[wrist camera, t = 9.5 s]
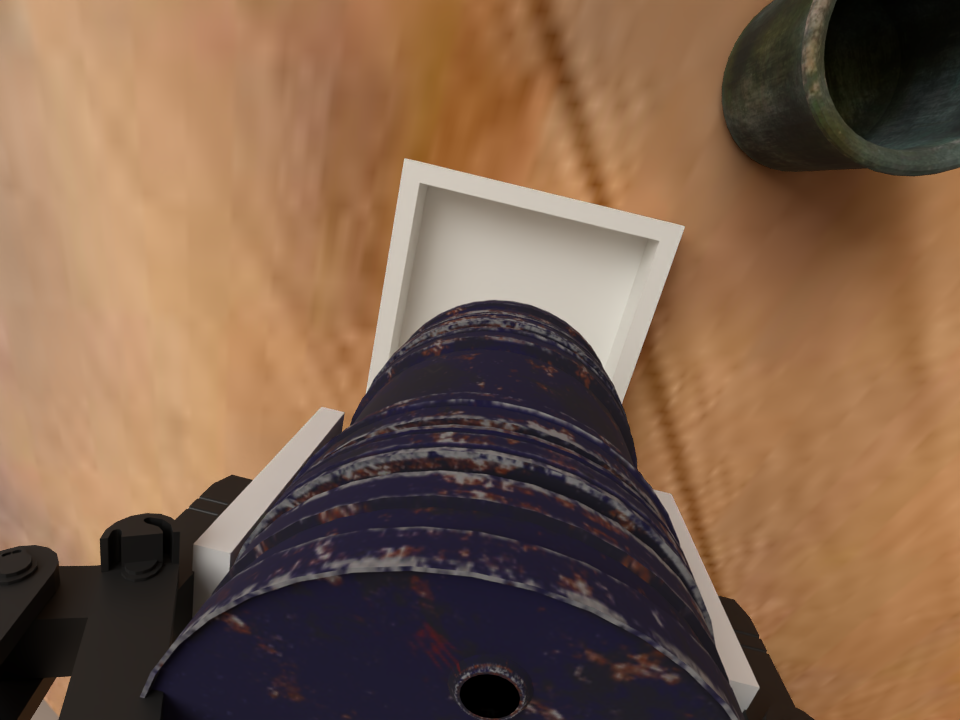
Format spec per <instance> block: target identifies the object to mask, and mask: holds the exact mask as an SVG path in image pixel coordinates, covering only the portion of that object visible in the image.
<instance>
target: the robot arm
mask: <svg viewBox="0 0 960 720" xmlns="http://www.w3.org/2000/svg"><path fill="white" fill-rule="evenodd" d="M344 413H345V412H341V411H337V410H333V409H329V408H325V407H321V408H320V409H319V410H318V411H317V412H316V413H315V414H314V415H313V416H312V417H311V419H310V420H309V421H308V422H307V423H306V424H305V425H304V426H303V427H302V428H301V429H300V430H299V431H298V432H297V434H296V435H295V436H294V437H293V438H292V439H291V440H290V441H289V442H288V443H287V444H286V445H285V446H284V447H283V449H282V450H281V451H280V452H279V453H278V454H277V455H276V456H275V457H274V458H273V459H272V460H271V461H270V462H269V464H268V465H267V466H266V467H265V468H264V469H263V470H262V471H261V472H260V473H259V474H258V475H257V476H256V477H255V479H254V480H251V479H247V478H243V477H239V476H235V475H231V476H228V477H226V478H224V479H222V480H220V481H218V482H216V483H214V484H212V485H211V486H210V487H209V488H208V489H207V490H206V491H205V492H204V493H203V494H202V495H201V496H200V498H199V499H197V500H195V501H194V502H193V503H192V504H191V505H190V506H189V509H186V510H185V511H184V512H183V513H182V514H181V515H180V516H179V517H178V518H176V519H175V520H174V519H172V518H171V517H168V516H165V515H162V514H150V513H145V514H140V515H134V516H130V517H127V518H125V519H122V520H120V521H117V522H116V523H114V524H113V525H112V526H110V527H109V528H107V529H106V530H105V532H104V533H103V535H102V536H101V538H100V555H101V565H98V566H59V561H58V557H57V553H55V552H54V551H52V550H51V549H49V548H47V547H42V546H37V545H31V546H18V547H14V548H10V549H6V550H3V551H0V720H30V719H31V718H32V716H33V715H34V713H35V711H36V710H37V708H38V707H39V705H40V703H41V702H42V700H43V698H44V697H45V695H46V694H47V692H48V690H49V689H50V687H51V685H52V684H53V682H54V681H55V679H56V677H65V676H71V678H70V682H69V685H68V689H67V692H66V696H65V699H64V703H63V706H62V710H61V713H60V717H59V720H163V692H162V691H158V690H154V689H151V690H150V692H149V693H148V694H147V696H146V697H145V698H142V697H140V695H141V693H142V690H143V688H144V686H145V684H146V682H147V679H148V677H149V675H150V673H151V671H152V670H153V668H154V667H155V666H156V665H157V663H158V662H159V661H160V659H161V658H162V657H163V656H164V654H165V653H166V652H167V650H168V649H169V648H170V647H171V645H172V644H173V643H174V641H175V640H176V639H177V638H178V636H179V635H180V634H181V632H182V631H183V630H184V628H185V627H186V626H187V625H188V623H189V622H190V621H191V620H192V618H193V617H194V616H195V614H196V613H197V612H198V611H199V609H200V608H201V607H202V605H203V604H204V603H205V602H206V600H207V599H208V598H210V597H211V595H212V592H213V591H214V590H215V588H216V587H217V586H218V585H219V583H220V582H221V581H222V579H223V578H224V577H225V576H226V574H227V573H228V572H229V570H230V569H231V568H232V567H233V565H234V562H235V560H236V558H237V556H238V554H239V552H240V550H241V548H242V546H243V544H244V543H245V541H246V540H247V539H248V537H249V536H250V535H251V534H252V532H253V531H254V530H255V528H256V527H257V526H258V524H259V523H260V522H261V521H262V519H263V518H264V517H265V515H266V514H267V513H268V512H269V510H270V509H271V508H272V507H273V505H274V504H275V503H276V502H277V500H278V499H279V498H280V497H281V495H282V494H283V493H284V492H285V490H286V489H287V488H288V487H289V486H290V485H291V483H292V481H293V480H294V479H295V477H296V476H297V475H298V473H299V472H300V471H301V469H302V468H303V467H304V466H305V464H306V463H307V462H308V460H309V459H310V458H311V457H312V456H313V455H314V454H316V453H317V452H318V451H319V450H320V449H321V448H322V447H323V446H325V445H326V444H327V443H328V442H329V441H330V440H331V439H332V438H334V437H336V436H337V435H339V434H340V433H341V432H342V426H343V420H344ZM653 490H654V489H653ZM654 492H655V493H656V495H657V497H658V498H659V500H660V501H661V503H662V505H663V506H664V508H665V509H666V511H667V512H668V514H669V517H670V519H671V522H672V524H673V527H674V529H675V532H676V534H677V537H678V539H679V542H680V547H681V548H682V550H683V552H684V555H685V557H686V560H687V562H688V564H689V567H690V569H691V572H692V574H693V576H694V579H695V581H696V584H697V586H698V588H699V591H700V593H701V596H702V598H703V601H704V603H705V606H706V608H707V611H708V613H709V616H710V618H711V622H712V627H713V633H714V639H715V644H716V649H717V651H718V654H719V656H720V659H721V661H722V664H723V666H724V669H725V671H726V674H727V676H728V679H729V684H730V686H731V687H732V689H733V692H734V694H735V696H736V699H737V701H738V704H739V706H740V709H741V711H742V714H743V716H744V718H745V720H814V719H813V718H812V717H810V716H809V715H808V714H806V713H805V712H804V711H802V710H800V709H798V708H796V707H795V705H794V703H793V701H792V699H791V697H790V695H789V694H788V692H787V690H786V688H785V686H784V684H783V682H782V680H781V678H780V676H779V674H778V672H777V670H776V668H775V666H774V664H773V662H772V660H771V658H770V656H769V654H767V653H766V651H767V650H766V648H765V646H764V644H763V642H762V640H761V639H759V634H758V632H757V630H756V628H755V626H754V624H753V622H752V621H751V619H750V617H749V616H748V615H747V614H746V612H745V611H744V610H743V609H742V608H741V607H740V606H739V605H738V603H737V602H736V601H735V600H733V599H729V598H725V597H721V596H718V595H717V593H716V591H715V589H714V586H713V584H712V582H711V580H710V578H709V575H708V573H707V571H706V569H705V567H704V564H703V562H702V560H701V558H700V556H699V553H698V551H697V549H696V547H695V545H694V542H693V540H692V538H691V536H690V534H689V531H688V529H687V527H686V525H685V523H684V520H683V518H682V516H681V514H680V512H679V509H678V507H677V505H676V503H675V501H674V498H673V496H672V494H670V493H666V492H662V491H658V490H654Z"/></svg>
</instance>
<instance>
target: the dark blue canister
mask: <svg viewBox="0 0 960 720" xmlns="http://www.w3.org/2000/svg"><path fill="white" fill-rule="evenodd" d="M151 689H154V690H158V691H162V692H163V720H745V718H744V716H743V714H742V711H741V709H740V706H739V704H738V701H737V699H736V696H735V694H734V692H733V689H732V687H731V686H730V684H729V679H728V676H727V674H726V671H725V669H724V666H723V664H722V661H721V659H720V656H719V654H718V651H717V649H716V644H715V639H714V633H713V627H712V622H711V618H710V616H709V613H708V611H707V608H706V606H705V603H704V601H703V598H702V596H701V593H700V591H699V588H698V586H697V584H696V581H695V579H694V576H693V574H692V572H691V569H690V567H689V564H688V562H687V560H686V557H685V555H684V552H683V550H682V548H681V547H680V542H679V539H678V537H677V534H676V532H675V529H674V527H673V524H672V522H671V519H670V517H669V514H668V512H667V511H666V509H665V508H664V506H663V505H662V503H661V501H660V500H659V498H658V497H657V495H656V493H655V492H654V490H653V489H652V487H651V486H650V485H649V484H648V483H647V482H646V480H645V479H644V478H643V476H642V474H641V473H640V472H639V471H638V470H637V457H636V452H635V447H634V442H633V438H632V435H631V432H630V427H629V424H628V422H627V417H626V413H625V411H624V409H623V406H622V404H621V401H620V399H619V396H618V394H617V391H616V389H615V387H614V384H613V383H612V381H611V379H610V378H609V376H608V375H607V373H606V371H605V370H604V368H603V366H602V363H601V361H600V359H599V358H598V356H597V355H596V353H595V351H594V350H593V348H592V347H591V345H590V344H589V343H588V342H587V341H586V340H585V339H584V338H583V336H582V335H581V334H580V333H579V332H578V331H576V330H575V329H574V328H573V327H572V326H570V325H569V324H568V323H567V322H565V321H564V320H562V319H560V318H559V317H557V316H555V315H553V314H552V313H550V312H548V311H545V310H543V309H540V308H538V307H535V306H532V305H529V304H524V303H520V302H515V301H505V300H486V301H476V302H471V303H467V304H463V305H460V306H456V307H454V308H451V309H449V310H447V311H445V312H442V313H440V314H438V315H437V316H435V317H434V318H432V319H431V320H429V321H428V322H426V323H425V324H423V325H422V326H421V327H420V328H419V329H418V330H417V331H416V332H415V333H414V334H413V335H412V336H411V337H410V338H409V339H408V341H407V342H406V343H405V344H404V345H402V346H401V347H400V348H399V349H398V350H397V351H396V352H395V353H394V354H393V355H392V356H391V358H390V359H389V360H388V361H387V363H386V364H385V365H384V366H383V368H382V369H381V370H380V372H379V373H378V374H377V376H376V377H375V378H374V380H373V382H372V384H371V386H370V388H369V389H368V391H367V393H366V394H365V396H364V397H363V398H362V400H361V402H360V404H359V406H358V408H357V410H356V412H355V414H354V416H353V418H352V421H351V424H350V427H348V428H346V429H345V430H344V431H343V432H341V433H340V434H339V435H337V436H336V437H334V438H332V439H331V440H330V441H329V442H328V443H327V444H326V445H325V446H323V447H322V448H321V449H320V450H319V451H318V452H317V453H316V454H314V455H313V456H312V457H311V458H310V459H309V460H308V462H307V463H306V464H305V466H304V467H303V468H302V469H301V471H300V472H299V473H298V475H297V476H296V477H295V479H294V480H293V481H292V483H291V485H290V486H289V487H288V488H287V489H286V490H285V492H284V493H283V494H282V495H281V497H280V498H279V499H278V500H277V502H276V503H275V504H274V505H273V507H272V508H271V509H270V510H269V512H268V513H267V514H266V515H265V517H264V518H263V519H262V521H261V522H260V523H259V524H258V526H257V527H256V528H255V530H254V531H253V532H252V534H251V535H250V536H249V537H248V539H247V540H246V541H245V543H244V544H243V546H242V548H241V550H240V552H239V554H238V556H237V558H236V560H235V562H234V565H233V567H232V568H231V569H230V570H229V572H228V573H227V574H226V576H225V577H224V578H223V579H222V581H221V582H220V583H219V585H218V586H217V587H216V588H215V590H214V591H213V592H212V595H211V597H210V598H208V599H207V600H206V602H205V603H204V604H203V605H202V607H201V608H200V609H199V611H198V612H197V613H196V614H195V616H194V617H193V618H192V620H191V621H190V622H189V623H188V625H187V626H186V627H185V628H184V630H183V631H182V632H181V634H180V635H179V636H178V638H177V639H176V640H175V641H174V643H173V644H172V645H171V647H170V648H169V649H168V650H167V652H166V653H165V654H164V656H163V657H162V658H161V659H160V661H159V662H158V663H157V665H156V666H155V667H154V668H153V670H152V671H151V673H150V675H149V677H148V679H147V682H146V684H145V686H144V688H143V690H142V693H141V695H140V697H142V698H145V697H146V696H147V694H148V693H149V692H150V690H151Z"/></svg>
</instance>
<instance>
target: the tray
mask: <svg viewBox="0 0 960 720" xmlns="http://www.w3.org/2000/svg"><path fill="white" fill-rule="evenodd" d="M684 228H685V226H682V225H678V224H674V223H671V222H667V221H663V220H659V219H654V218H650V217H646V216H642V215H638V214H634V213H630V212H626V211H621V210H617V209H613V208H609V207H605V206H601V205H597V204H593V203H588V202H584V201H580V200H576V199H572V198H568V197H564V196H560V195H555V194H551V193H547V192H543V191H539V190H535V189H531V188H527V187H522V186H518V185H514V184H510V183H506V182H502V181H498V180H494V179H489V178H485V177H481V176H477V175H473V174H469V173H465V172H461V171H456V170H452V169H448V168H444V167H440V166H436V165H432V164H428V163H423V162H419V161H415V160H410V159H405V158H404V164H403V170H402V177H401V183H400V189H399V195H398V201H397V207H396V213H395V219H394V225H393V231H392V238H391V244H390V250H389V256H388V262H387V268H386V274H385V280H384V286H383V292H382V298H381V305H380V311H379V317H378V323H377V329H376V335H375V341H374V347H373V353H372V359H371V366H370V372H369V378H368V384H367V390H366V393H367V391H368V389H369V388H370V386H371V384H372V382H373V380H374V378H375V377H376V376H377V374H378V373H379V372H380V370H381V369H382V368H383V366H384V365H385V364H386V363H387V361H388V360H389V359H390V358H391V356H392V355H393V354H394V353H395V352H396V351H397V350H398V349H399V348H400V347H401V346H402V345H404V344H405V343H406V342H407V341H408V339H409V338H410V337H411V336H412V335H413V334H414V333H415V332H416V331H417V330H418V329H419V328H420V327H421V326H422V325H423V324H425V323H426V322H428V321H429V320H431V319H432V318H434V317H435V316H437V315H438V314H440V313H442V312H445V311H447V310H449V309H451V308H454V307H456V306H460V305H463V304H467V303H471V302H476V301H486V300H505V301H515V302H520V303H524V304H529V305H532V306H535V307H538V308H540V309H543V310H545V311H548V312H550V313H552V314H553V315H555V316H557V317H559V318H560V319H562V320H564V321H565V322H567V323H568V324H569V325H570V326H572V327H573V328H574V329H575V330H576V331H578V332H579V333H580V334H581V335H582V336H583V338H584V339H585V340H586V341H587V342H588V343H589V344H590V345H591V347H592V348H593V350H594V351H595V353H596V355H597V356H598V358H599V359H600V361H601V363H602V366H603V368H604V370H605V371H606V373H607V375H608V376H609V378H610V379H611V381H612V383H613V384H614V387H615V389H616V391H617V394H618V396H619V399H620V401H621V404H622V402H623V399H624V396H625V394H626V391H627V388H628V385H629V382H630V380H631V377H632V374H633V371H634V368H635V366H636V363H637V360H638V357H639V354H640V352H641V349H642V346H643V343H644V340H645V337H646V335H647V332H648V329H649V326H650V323H651V321H652V318H653V315H654V312H655V309H656V307H657V304H658V301H659V298H660V295H661V293H662V290H663V287H664V284H665V281H666V278H667V276H668V273H669V270H670V267H671V264H672V262H673V259H674V256H675V253H676V250H677V248H678V245H679V242H680V239H681V236H682V234H683V231H684Z"/></svg>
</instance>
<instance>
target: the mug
mask: <svg viewBox="0 0 960 720" xmlns="http://www.w3.org/2000/svg"><path fill="white" fill-rule="evenodd" d="M722 106H723V113H724V117H725V121H726V124H727V127H728V129H729V131H730V133H731V135H732V137H733V139H734V140H735V142H736V143H737V145H738V146H739V147H740V149H741V150H742V151H744V152H745V153H746V154H747V155H748V156H749V157H750V158H752V159H753V160H755V161H756V162H758V163H759V164H762V165H764V166H766V167H769V168H771V169H776V170H780V171H792V172H799V171H819V170H840V169H861V168H868V169H871V170H873V171H876V172H881V173H885V174H890V175H897V176H922V175H931V174H937V173H941V172H945V171H949V170H952V169H956V168H959V167H960V0H774V1H772V2H771V3H770V4H768V5H767V6H766V7H765V8H763V9H762V10H761V11H760V12H759V13H758V14H757V15H756V16H755V17H754V18H753V19H752V20H751V21H750V23H749V24H748V25H747V26H746V28H745V29H744V30H743V32H742V33H741V35H740V36H739V38H738V40H737V41H736V43H735V45H734V47H733V49H732V51H731V54H730V56H729V58H728V62H727V65H726V68H725V72H724V77H723V84H722Z"/></svg>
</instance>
